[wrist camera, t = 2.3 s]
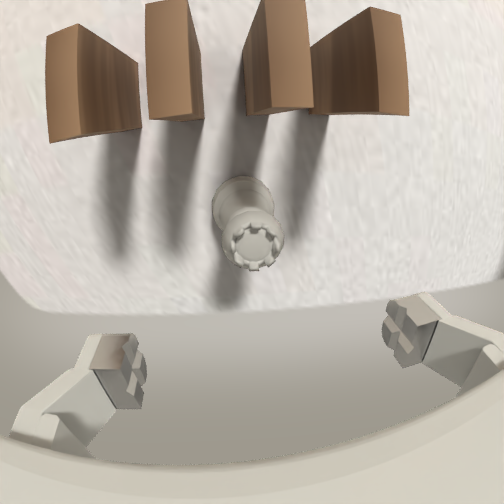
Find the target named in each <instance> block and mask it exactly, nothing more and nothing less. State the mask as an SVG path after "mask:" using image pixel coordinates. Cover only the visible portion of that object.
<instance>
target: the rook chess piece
mask: <svg viewBox="0 0 504 504" xmlns="http://www.w3.org/2000/svg"><path fill="white" fill-rule="evenodd" d="M212 212H213V216H214V219H215V221H216V223H217V225H218V227H219V228H221V229H222V230H223V233H222V248H223V251H224V253H225V255H226V257H227V258H228V259H229V260H230V261H231V262H232V263H234V264H235V265H237V266H239V267H240V268H241V267H243V268H245V269H249V271H259V268H260V267H263V266H266V265H267V266H268V267H270V266H271V265H272V264H273V263H274V262H275V259H276V258H277V257H278V255H279V254H280V252H281V250H282V248H283V244H284V233H283V230H282V227H281V224H280V223H279V222H278V221H277V220H276V219H275V218H274V217H273V216H274V202H273V199H272V196H271V193H270V191H269V189H268V188H267V187H266V186H265V185H264V184H263V183H262V182H261V181H259V180H257V179H255V178H253V177H250V176H237V177H234V178H232V179H229V180H227V181H225V182H224V183H223V184H222V185H221V186H220V187H219V188H218V189H217V191H216V193H215V195H214V197H213V200H212Z"/></svg>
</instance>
